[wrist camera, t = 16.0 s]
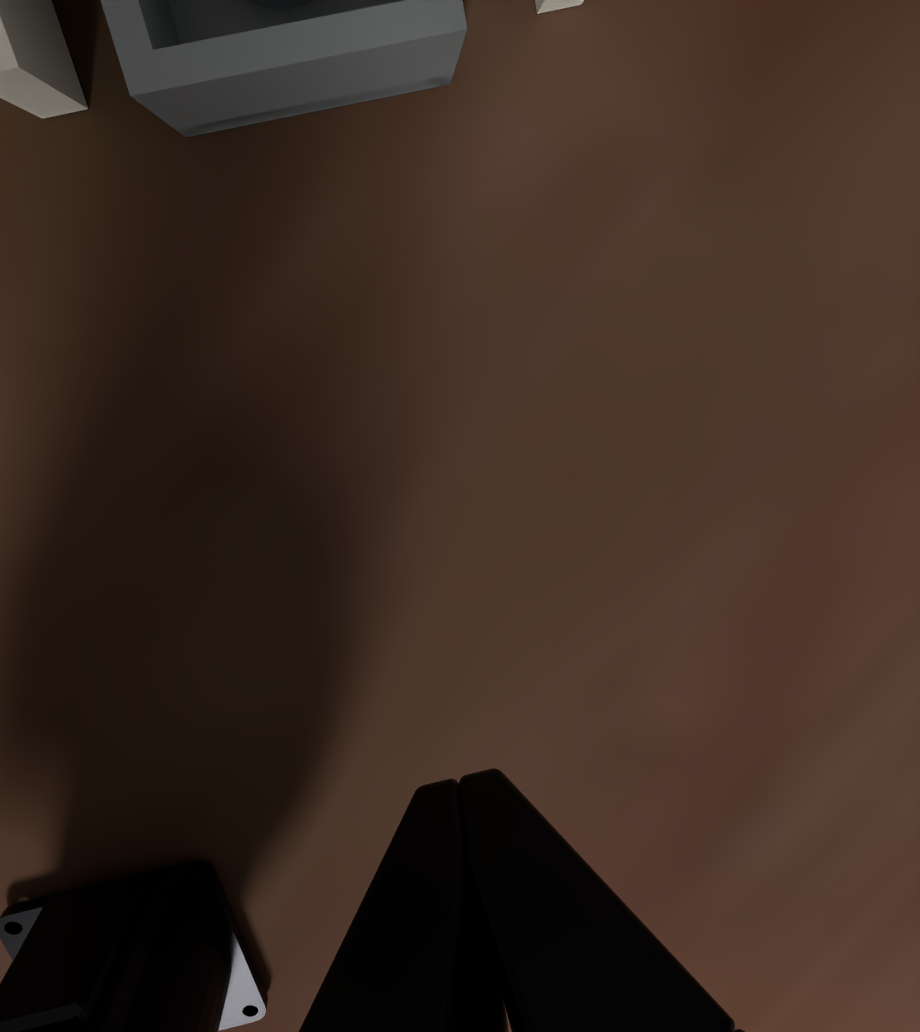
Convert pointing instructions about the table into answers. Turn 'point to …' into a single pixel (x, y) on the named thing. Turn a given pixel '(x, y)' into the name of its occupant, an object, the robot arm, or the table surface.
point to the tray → (278, 55)
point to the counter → (63, 57)
